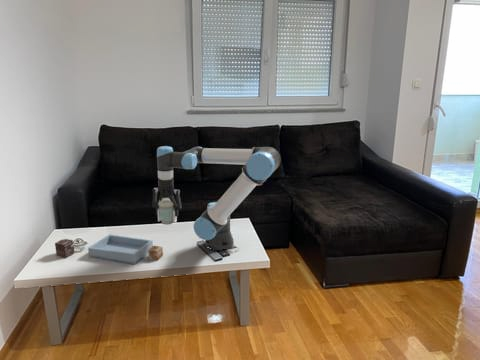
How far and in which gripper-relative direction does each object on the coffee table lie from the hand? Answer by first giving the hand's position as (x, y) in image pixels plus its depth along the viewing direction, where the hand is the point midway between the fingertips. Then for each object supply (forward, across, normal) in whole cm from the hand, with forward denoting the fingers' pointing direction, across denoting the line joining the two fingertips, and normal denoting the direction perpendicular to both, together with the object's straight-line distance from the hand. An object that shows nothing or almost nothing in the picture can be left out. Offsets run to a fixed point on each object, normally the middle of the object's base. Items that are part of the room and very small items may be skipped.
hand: (167, 221), depth 192 cm
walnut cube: (+16, +3, +10) cm, 19 cm away
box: (+17, +49, +16) cm, 54 cm away
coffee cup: (+1, 0, 0) cm, 1 cm away
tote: (+16, +22, +9) cm, 28 cm away
